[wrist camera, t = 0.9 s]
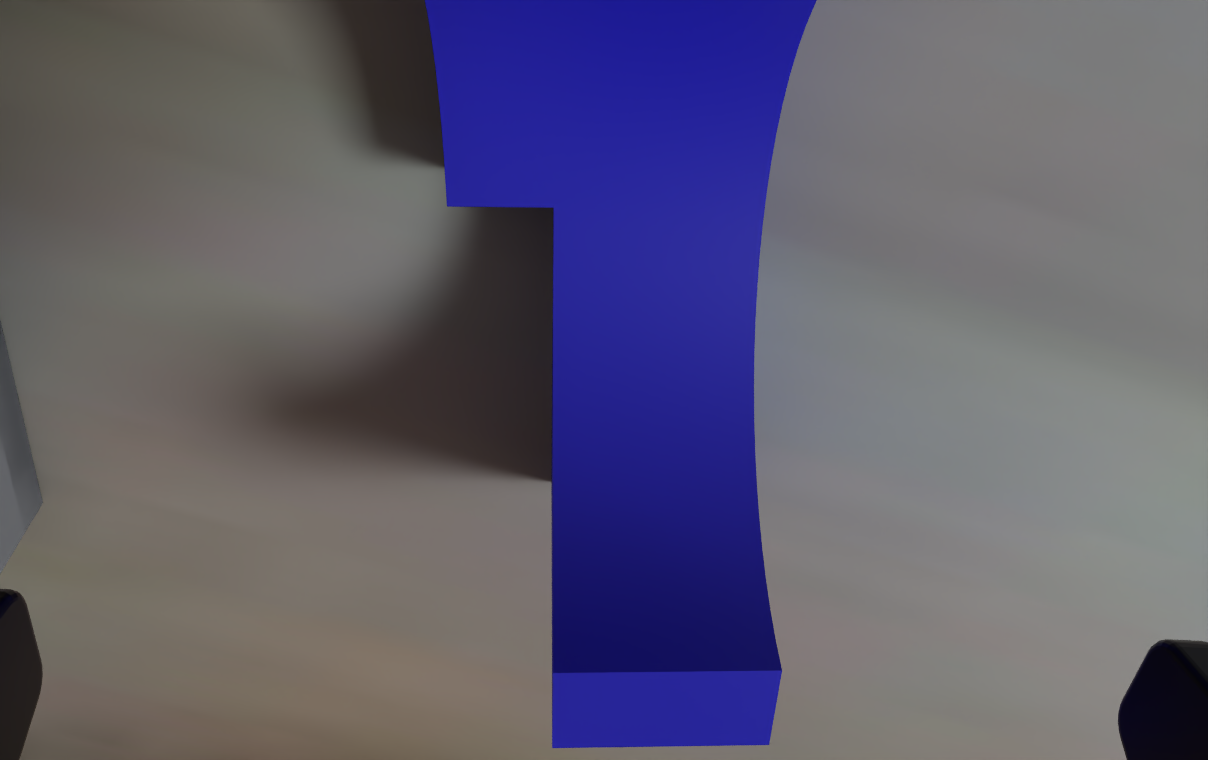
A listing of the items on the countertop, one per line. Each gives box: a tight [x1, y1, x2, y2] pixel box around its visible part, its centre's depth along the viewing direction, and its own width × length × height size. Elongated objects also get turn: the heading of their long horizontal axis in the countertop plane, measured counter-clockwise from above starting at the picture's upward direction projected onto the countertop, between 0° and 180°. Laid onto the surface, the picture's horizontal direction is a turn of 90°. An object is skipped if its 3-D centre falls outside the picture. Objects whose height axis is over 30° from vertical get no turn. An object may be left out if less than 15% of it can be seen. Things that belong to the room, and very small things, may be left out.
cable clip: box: [425, 0, 816, 748], centre depth 14 cm, size 12×4×6 cm, turn 178°
